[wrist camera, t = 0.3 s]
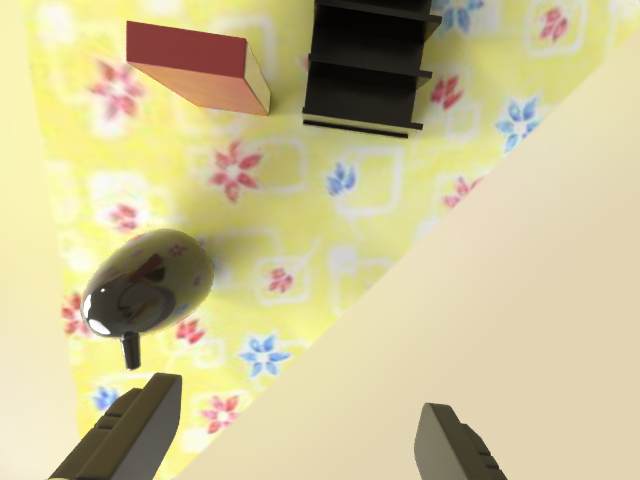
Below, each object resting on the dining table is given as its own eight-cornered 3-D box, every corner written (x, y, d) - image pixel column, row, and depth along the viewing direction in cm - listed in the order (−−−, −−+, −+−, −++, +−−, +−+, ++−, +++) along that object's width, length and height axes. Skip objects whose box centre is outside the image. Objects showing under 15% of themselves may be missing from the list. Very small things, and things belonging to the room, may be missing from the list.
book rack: (320, -30, 33) (322, -70, 28) (431, -12, 34) (454, -47, 29) (302, 125, 36) (301, 116, 31) (405, 139, 37) (421, 133, 32)
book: (197, 81, 35) (125, 20, 21) (271, 91, 35) (247, 38, 22) (196, 106, 35) (125, 62, 22) (269, 116, 36) (244, 79, 22)
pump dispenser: (155, 313, 40) (64, 394, 25) (125, 235, 38) (7, 272, 23) (233, 294, 40) (188, 364, 25) (207, 214, 38) (142, 239, 23)
